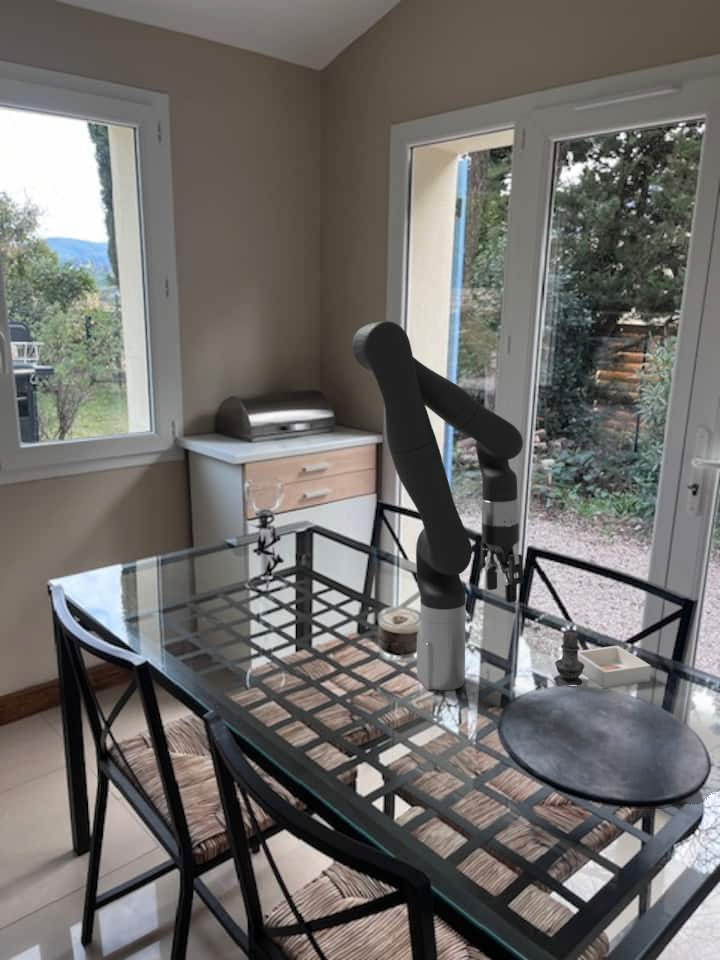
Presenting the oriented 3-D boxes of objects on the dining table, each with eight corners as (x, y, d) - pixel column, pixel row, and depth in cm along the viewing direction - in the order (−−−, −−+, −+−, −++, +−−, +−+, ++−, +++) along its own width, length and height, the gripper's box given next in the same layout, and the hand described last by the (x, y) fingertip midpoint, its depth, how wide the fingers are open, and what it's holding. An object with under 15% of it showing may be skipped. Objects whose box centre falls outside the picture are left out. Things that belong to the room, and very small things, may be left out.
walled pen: (603, 688, 145) (604, 672, 145) (573, 667, 156) (573, 651, 155) (649, 681, 148) (650, 665, 148) (616, 660, 159) (617, 645, 158)
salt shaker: (585, 688, 146) (587, 631, 144) (555, 685, 147) (557, 630, 145) (582, 675, 151) (584, 621, 149) (553, 673, 153) (555, 619, 151)
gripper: (468, 515, 154) (470, 587, 156) (500, 529, 140) (501, 608, 143) (500, 511, 156) (501, 583, 159) (534, 525, 142) (534, 603, 145)
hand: (501, 595), depth 151 cm, fingers open, 8 cm apart
